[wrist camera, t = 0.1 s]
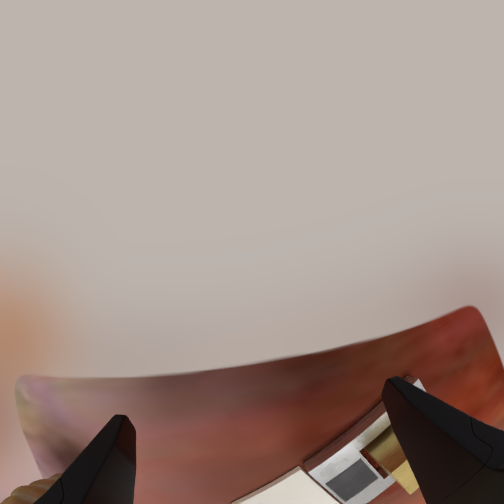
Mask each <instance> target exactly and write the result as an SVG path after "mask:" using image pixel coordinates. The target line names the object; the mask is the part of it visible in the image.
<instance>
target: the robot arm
mask: <svg viewBox="0 0 504 504" xmlns="http://www.w3.org/2000/svg"><path fill="white" fill-rule="evenodd" d="M382 400H383V403H384V406H385V409H386V411H387V414H388V417H389V420H390V423H391V426H392V429H393V431H394V434H395V436H396V438H397V440H398V442H399V444H400V446H401V448H402V450H403V453H404V455H405V457H406V459H407V461H408V463H409V465H410V468H411V470H412V472H413V474H414V476H415V479H416V481H417V483H418V485H419V488H420V490H421V492H422V494H423V497H424V499H425V501H426V504H504V431H503V430H500V429H497V428H495V427H492V426H490V425H487V424H485V423H483V422H481V421H479V420H477V419H475V418H473V417H470V416H469V415H468V414H466V413H464V412H462V411H460V410H458V409H456V408H454V407H453V406H451V405H449V404H447V403H445V402H443V401H442V400H440V399H438V398H436V397H434V396H432V395H431V394H429V393H427V392H425V391H423V390H422V389H420V388H418V387H416V386H415V385H413V384H411V383H409V382H408V381H406V380H404V379H402V378H401V377H399V376H394V377H391V378H388V379H387V380H386V381H385V385H384V388H383V391H382ZM135 476H136V430H135V428H134V426H133V424H132V423H131V421H130V420H129V418H128V417H127V416H126V415H118V414H117V415H114V416H113V417H112V418H111V420H110V421H109V422H108V423H107V424H106V425H105V426H104V428H103V429H102V430H101V431H100V432H99V433H98V434H97V435H96V437H95V438H94V439H93V440H92V441H91V442H90V443H89V444H88V446H87V447H86V448H85V449H84V450H83V451H82V452H81V454H80V455H79V456H78V457H77V458H76V459H75V460H74V461H73V463H72V464H71V465H70V466H69V467H68V468H67V469H66V470H65V472H64V473H63V474H62V475H61V476H60V478H58V479H57V480H56V482H55V483H54V484H53V485H52V486H51V487H50V488H49V489H48V490H47V491H46V492H45V493H44V494H43V495H42V496H41V497H39V498H38V499H37V500H36V501H35V502H34V503H32V504H133V500H134V487H135Z"/></svg>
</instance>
